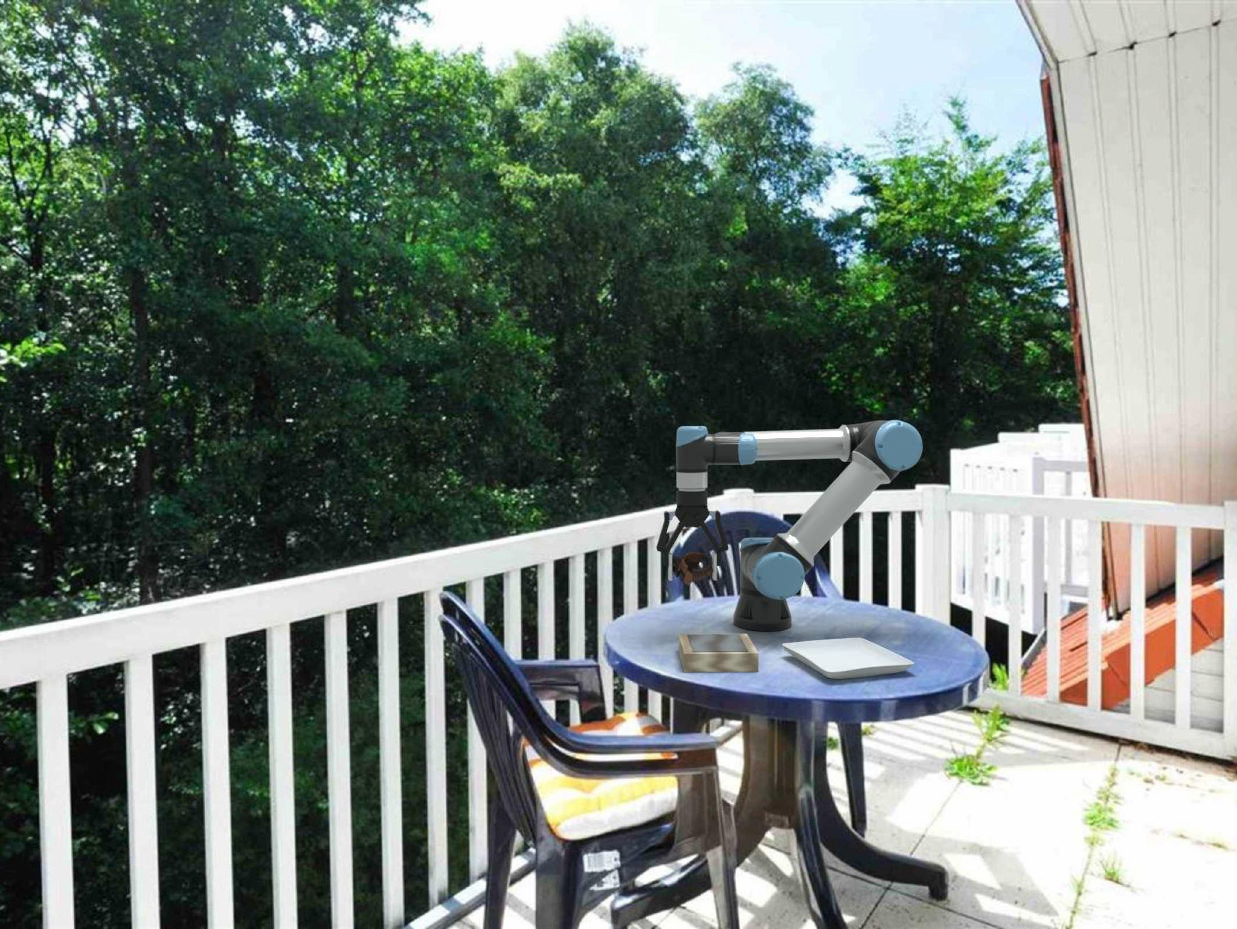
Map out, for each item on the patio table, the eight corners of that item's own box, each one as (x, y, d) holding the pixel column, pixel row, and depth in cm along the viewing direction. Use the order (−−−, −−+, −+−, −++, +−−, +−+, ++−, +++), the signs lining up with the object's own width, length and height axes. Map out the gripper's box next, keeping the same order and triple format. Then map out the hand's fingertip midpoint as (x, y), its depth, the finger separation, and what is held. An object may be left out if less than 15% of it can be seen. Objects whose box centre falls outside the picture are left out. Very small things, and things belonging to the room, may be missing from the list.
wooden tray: (746, 650, 195) (746, 632, 195) (758, 671, 179) (758, 652, 179) (678, 650, 195) (678, 633, 195) (684, 671, 179) (684, 652, 179)
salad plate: (917, 677, 176) (917, 661, 176) (828, 687, 170) (828, 670, 170) (860, 650, 197) (861, 635, 197) (779, 657, 191) (779, 643, 190)
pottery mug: (715, 580, 210) (719, 555, 205) (703, 603, 202) (707, 578, 198) (670, 565, 213) (673, 540, 208) (657, 588, 206) (660, 562, 201)
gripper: (736, 487, 207) (736, 575, 208) (644, 488, 207) (645, 577, 208) (740, 490, 199) (741, 582, 201) (645, 491, 199) (646, 583, 201)
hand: (692, 579), depth 204 cm, fingers closed on pottery mug, 10 cm apart
